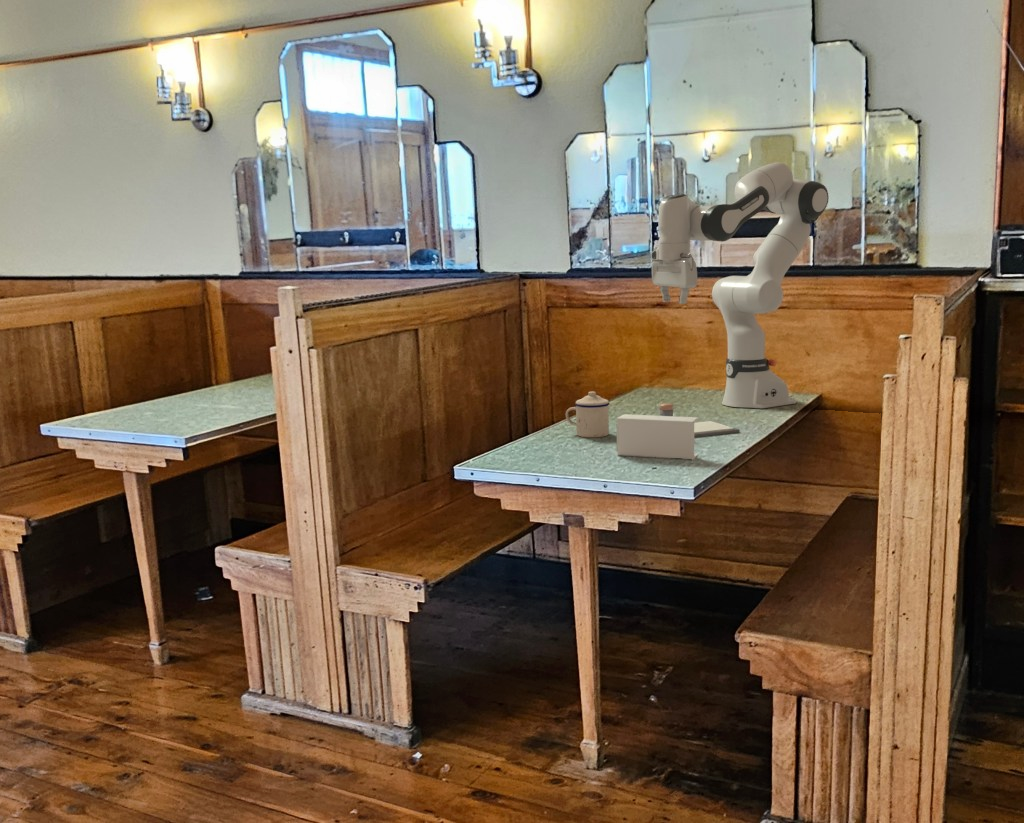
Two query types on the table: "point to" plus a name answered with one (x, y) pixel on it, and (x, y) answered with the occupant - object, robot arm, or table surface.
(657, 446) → the cigarette display
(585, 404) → the teacup with lid
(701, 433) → the whiteboard
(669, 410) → the cylinder
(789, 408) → the table surface
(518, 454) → the table surface
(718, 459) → the table surface
